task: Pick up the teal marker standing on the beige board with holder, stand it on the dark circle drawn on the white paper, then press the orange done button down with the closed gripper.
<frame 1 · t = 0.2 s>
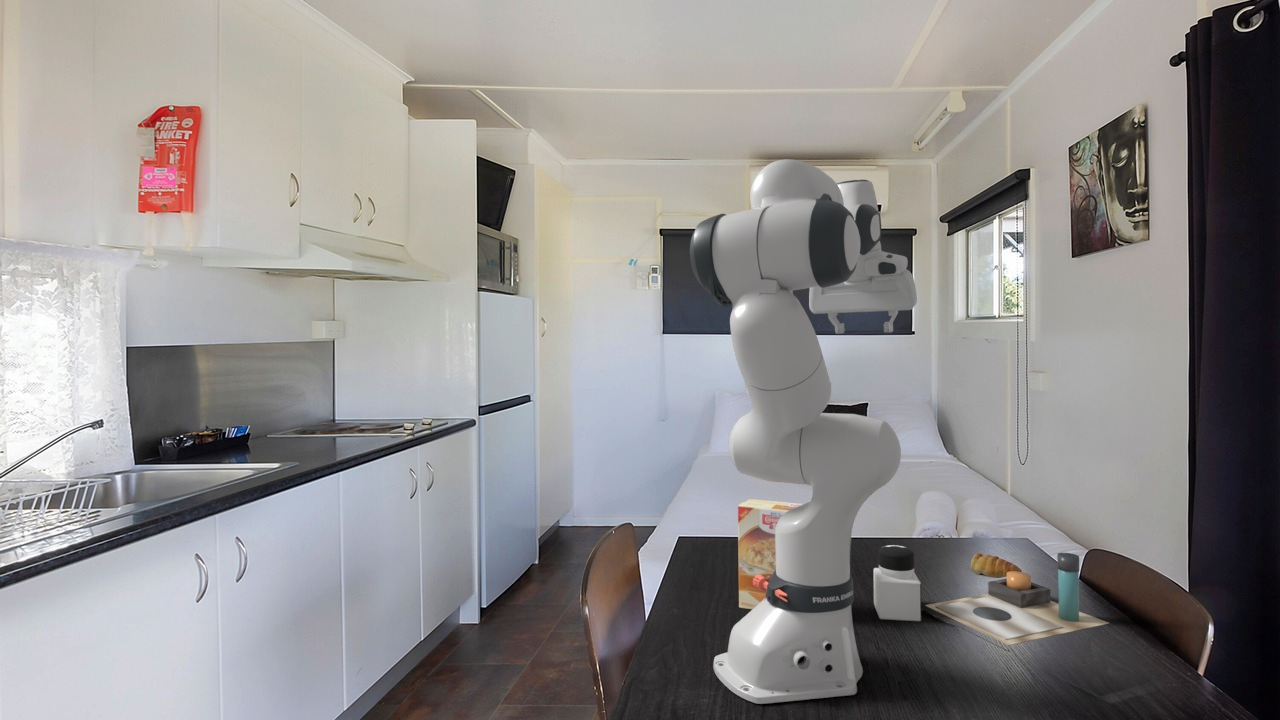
hand: (863, 332, 134), 52 cm above the table, tool tilted 20°, fingers open, 8 cm apart
marker: (1068, 618, 116), point 1 cm above the table, touching beige board with holder
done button: (1018, 582, 126), point 4 cm above the table, slide at 0.0 cm
pastry: (993, 574, 143), on the table
beige board with holder: (1013, 619, 119), on the table
medicine bottle: (896, 614, 123), on the table
coffeecake box: (782, 609, 126), on the table
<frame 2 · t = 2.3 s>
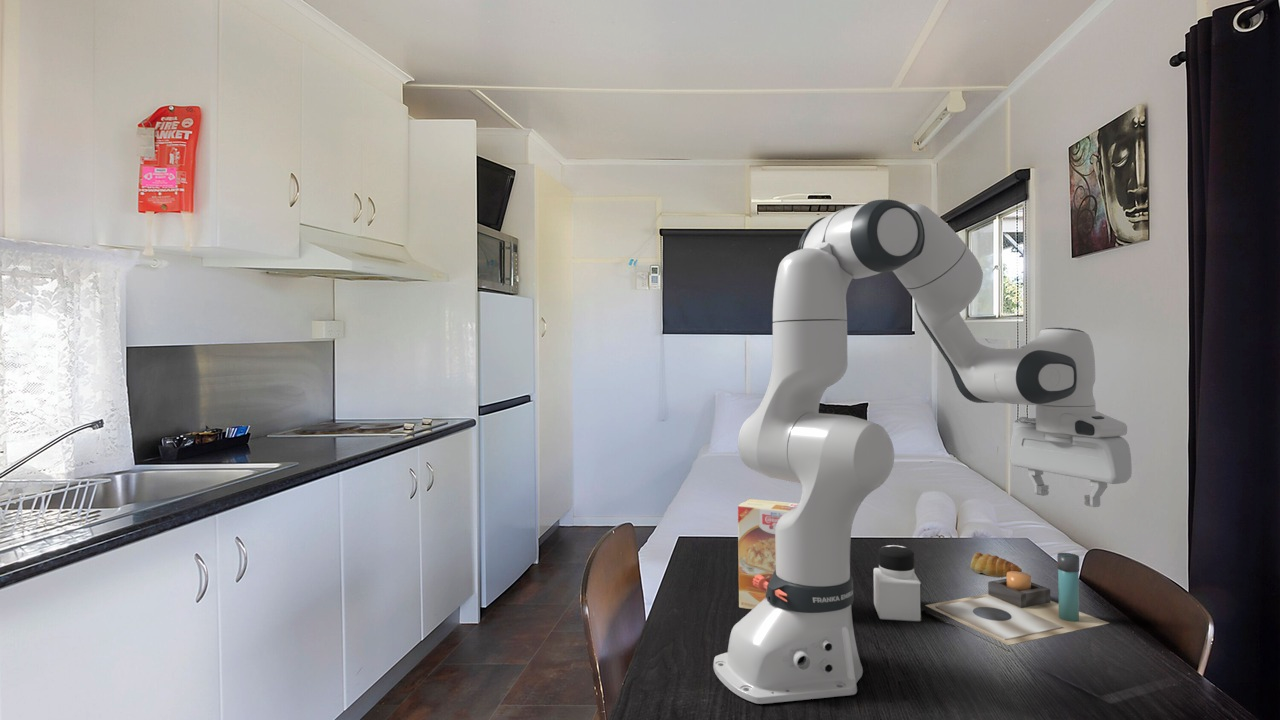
hand: (1065, 500, 116), 22 cm above the table, tool pointing down, fingers open, 8 cm apart
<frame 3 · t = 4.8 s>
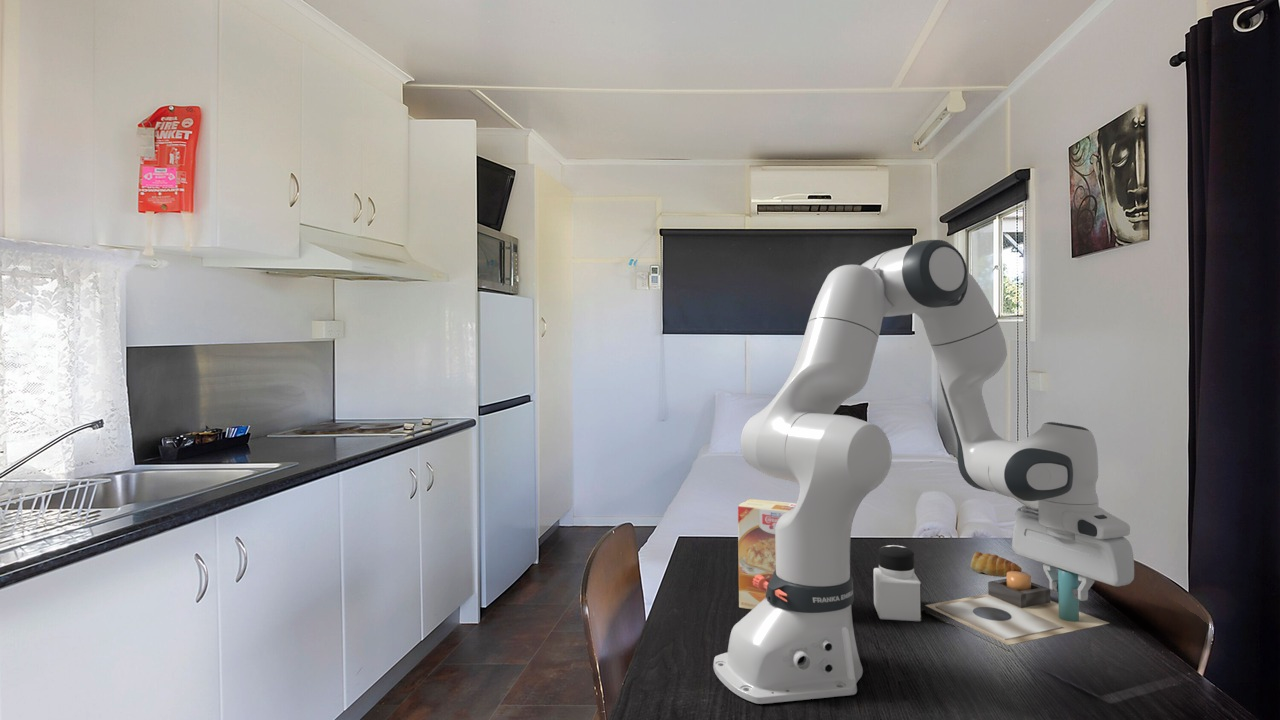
hand: (1068, 594, 116), 5 cm above the table, tool pointing down, fingers closed on marker, 3 cm apart
marker: (1068, 618, 116), point 1 cm above the table, touching beige board with holder, gripper
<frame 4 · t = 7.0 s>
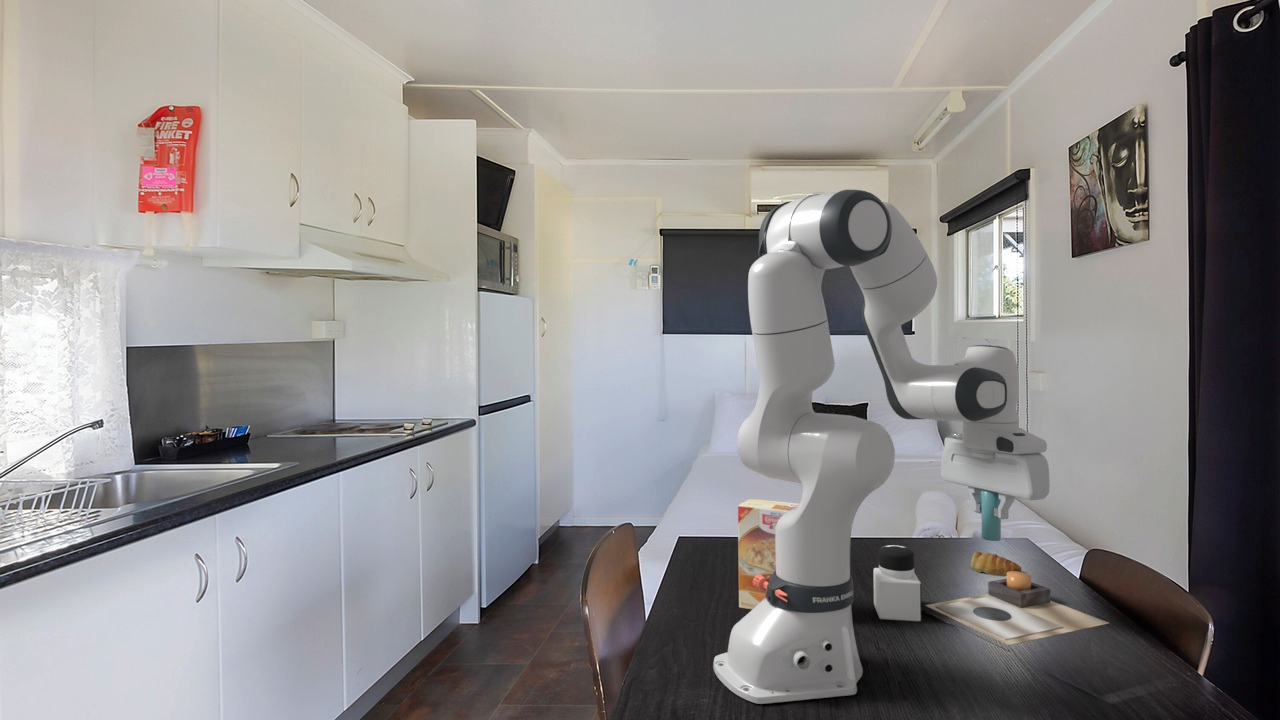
hand: (990, 515, 118), 19 cm above the table, tool pointing down, fingers closed on marker, 3 cm apart
marker: (991, 538, 118), point 15 cm above the table, touching gripper
when the fingers open (6 cm above the table, at t = 9.7 s): marker stays where it is, resting on beige board with holder.
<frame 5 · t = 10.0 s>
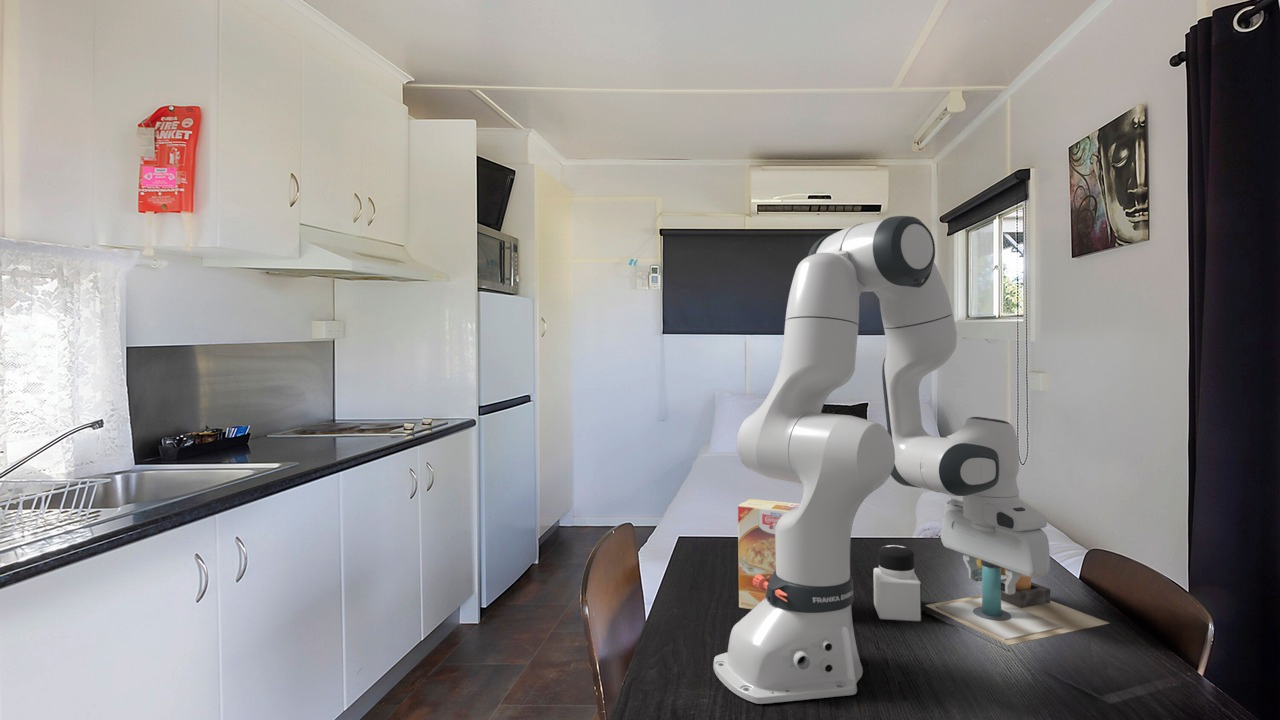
hand: (991, 586, 118), 6 cm above the table, tool pointing down, fingers open, 5 cm apart
marker: (991, 613, 118), point 1 cm above the table, touching beige board with holder
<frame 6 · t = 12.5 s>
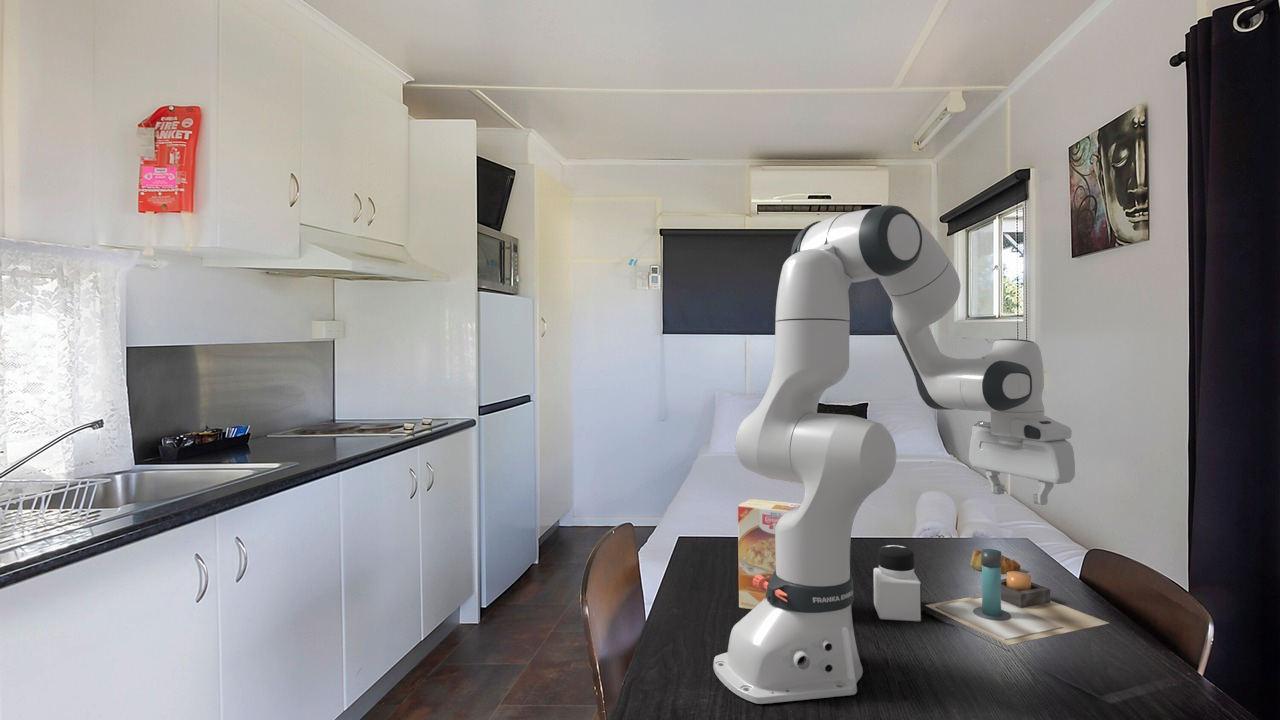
hand: (1018, 498, 126), 20 cm above the table, tool pointing down, fingers open, 8 cm apart
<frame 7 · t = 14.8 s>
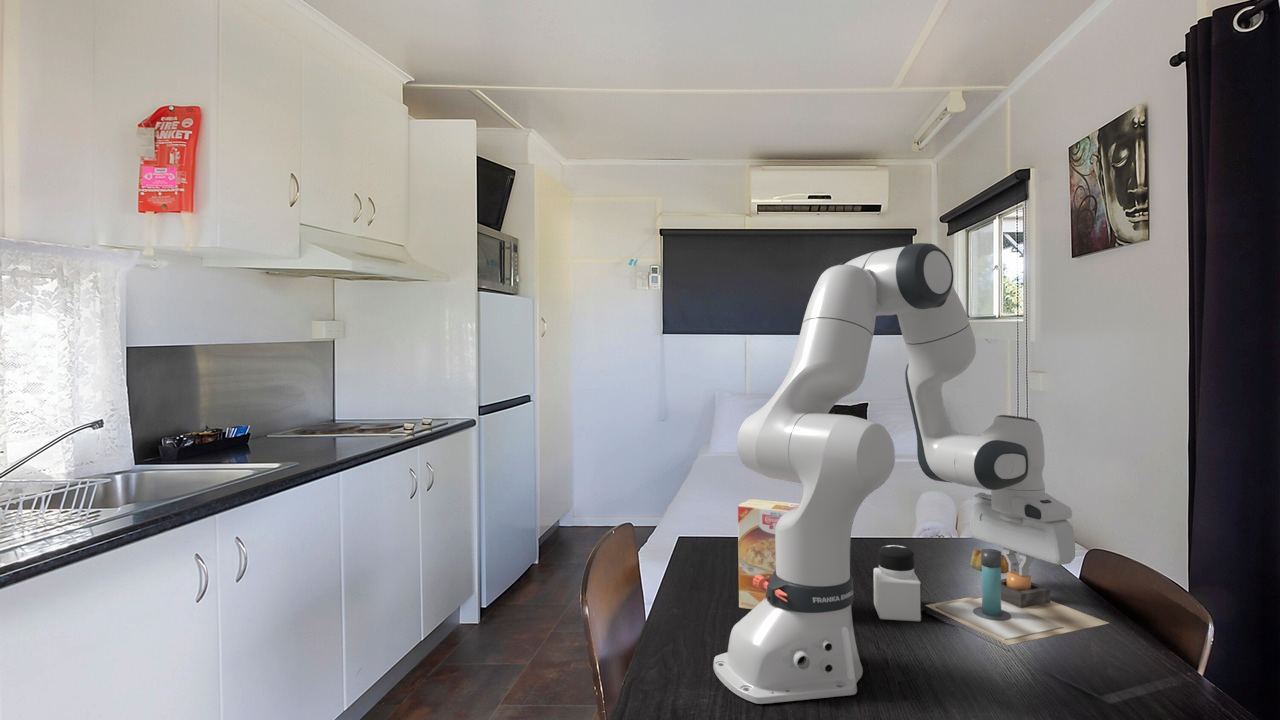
hand: (1018, 574, 126), 6 cm above the table, tool pointing down, fingers closed, pressing on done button
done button: (1018, 582, 126), point 4 cm above the table, slide at 0.0 cm, touching gripper
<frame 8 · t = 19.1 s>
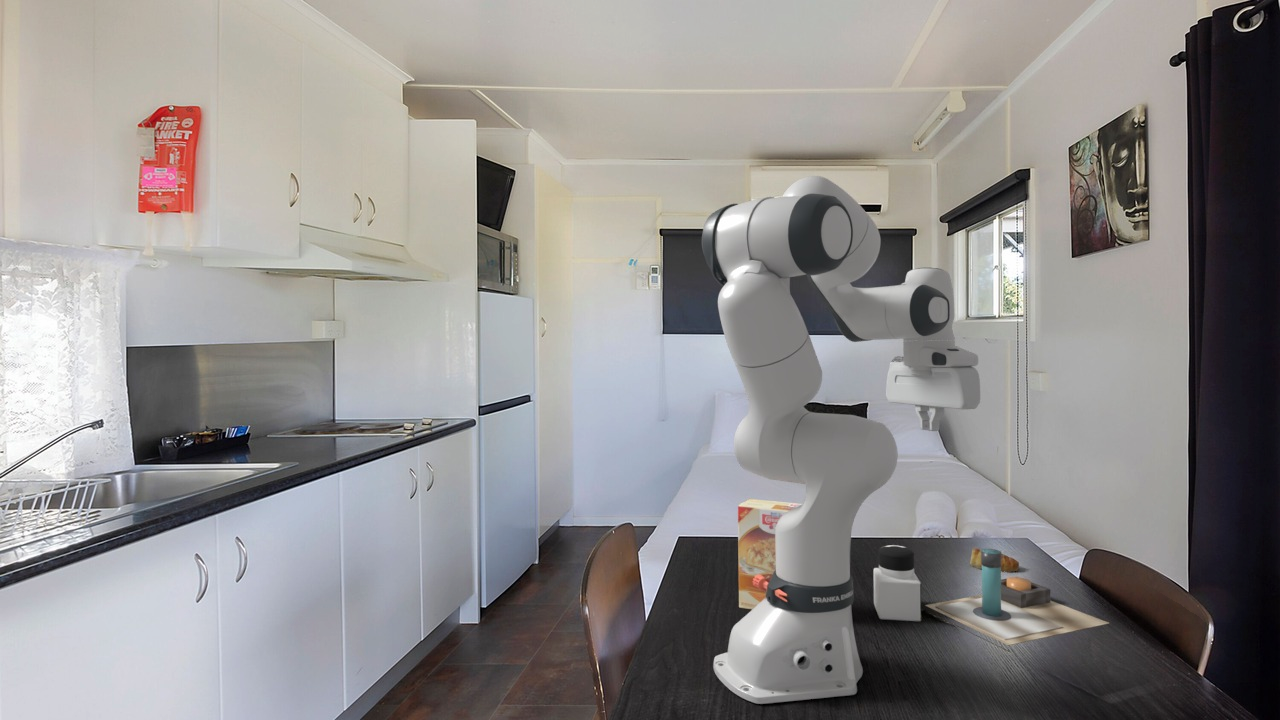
hand: (929, 430, 125), 33 cm above the table, tool pointing down, fingers closed
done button: (1018, 588, 126), point 3 cm above the table, slide at 1.1 cm
at the end: marker 0.0 cm from the target spot on the beige board with holder, point 1.3 cm above the beige board with holder's base; marker tilted 0°; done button slide at 1.1 cm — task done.
